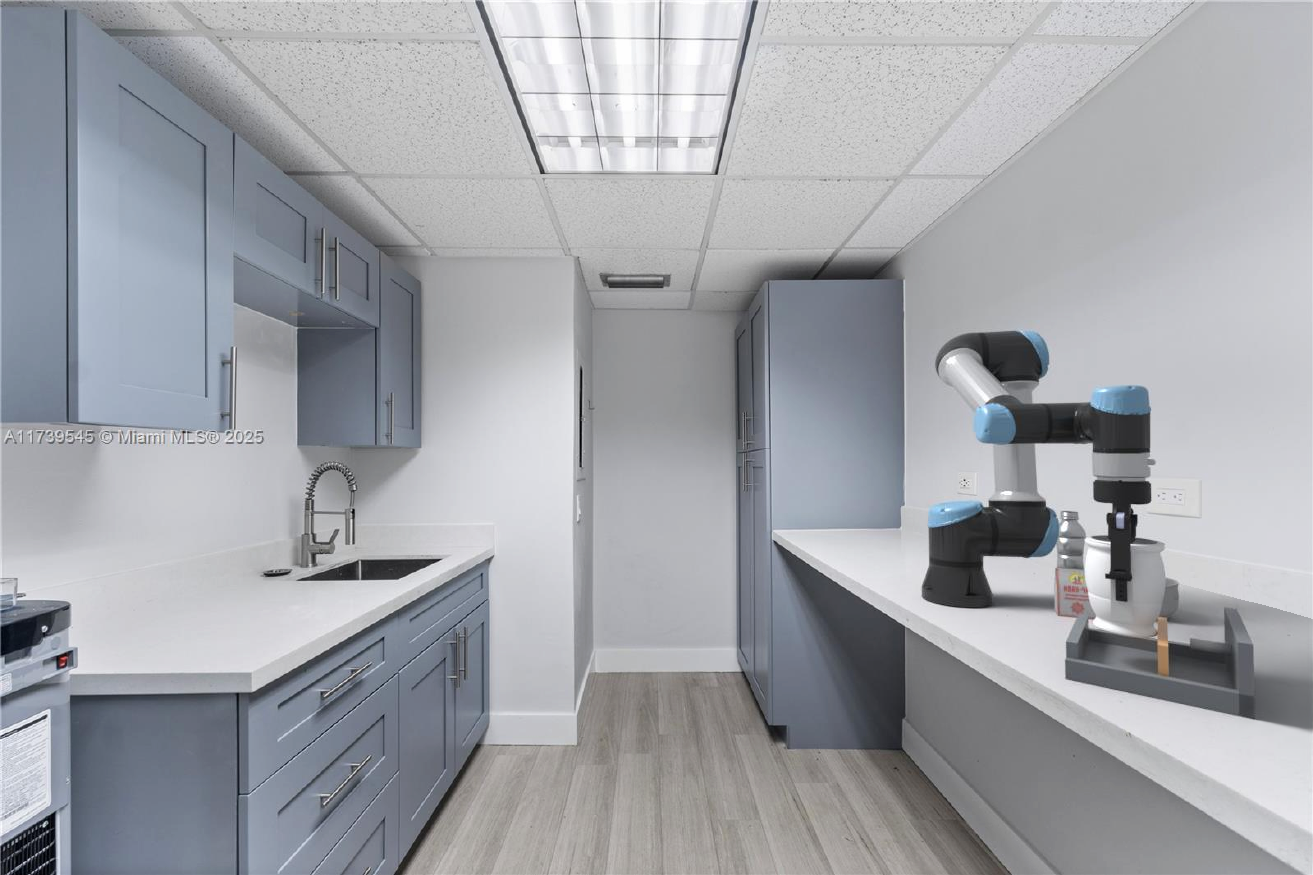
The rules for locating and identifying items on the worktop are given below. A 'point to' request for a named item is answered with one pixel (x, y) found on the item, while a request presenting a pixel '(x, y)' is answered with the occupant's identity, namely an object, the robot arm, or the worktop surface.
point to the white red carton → (1071, 594)
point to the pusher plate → (1163, 647)
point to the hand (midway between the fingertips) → (1123, 613)
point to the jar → (1145, 585)
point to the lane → (1194, 669)
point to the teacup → (1170, 598)
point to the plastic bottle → (1070, 542)
